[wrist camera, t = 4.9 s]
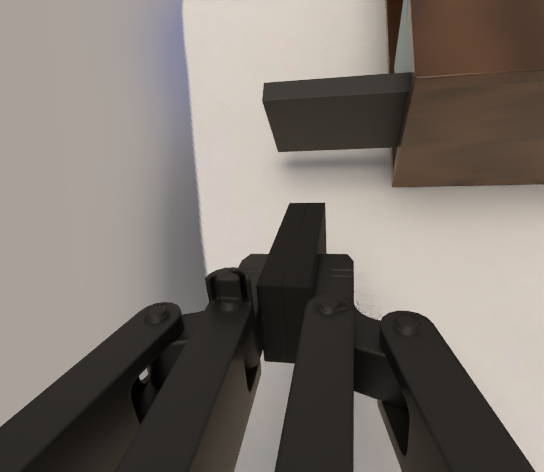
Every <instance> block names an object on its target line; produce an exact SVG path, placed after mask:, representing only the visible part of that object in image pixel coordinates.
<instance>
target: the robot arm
mask: <svg viewBox="0 0 544 472" xmlns="http://www.w3.org/2000/svg"><path fill="white" fill-rule="evenodd" d="M205 281H206V287H207V293H208V298H209V304H208V305H207V308H206V309H205V311H201V312H197V313H190V314H184V315H182V313H181V309H180V308H179V306H178V305H176V304H174V303H166V302H163V303H156V304H153V305H150V306H148V307H146V308H144V309H143V310H141V311H140V312H138V313H137V314H136V315H135V316H134V317H132V318H131V319H130V320H129V321H128V322H126V323H125V324H124V325H123V326H122V327H120V328H119V329H118V330H117V331H115V332H114V333H113V334H112V335H111V336H109V337H108V338H107V339H106V340H105V341H103V342H102V343H101V344H100V345H99V346H97V348H95V349H94V350H93V351H91V352H90V353H89V354H88V355H87V356H85V357H84V358H83V359H82V360H81V361H79V362H78V363H77V364H76V365H75V366H73V367H72V368H71V369H70V370H69V371H67V372H66V373H65V374H64V375H62V376H61V377H60V378H59V379H58V380H56V381H55V382H54V383H53V384H52V385H50V386H49V387H48V388H47V389H46V390H45V391H43V392H42V393H41V394H40V395H39V396H37V397H36V398H35V399H34V400H33V401H31V402H30V403H29V404H28V405H26V406H25V407H24V408H23V409H22V410H21V411H19V412H18V413H17V414H16V415H14V416H13V417H12V418H11V419H9V420H8V421H7V422H6V423H5V424H3V425H2V426H1V427H0V472H234V469H235V465H236V462H237V458H238V455H239V451H240V447H241V444H242V440H243V437H244V433H245V429H246V426H247V422H248V419H249V415H250V412H251V408H252V404H253V401H254V397H255V394H256V390H257V386H258V383H259V379H260V376H261V363H260V357H261V354H262V351H264V360H265V361H268V362H283V363H295V366H294V371H293V376H292V382H291V387H290V392H289V397H288V403H287V408H286V413H285V419H284V424H283V429H282V435H281V440H280V445H279V450H278V456H277V461H276V466H275V472H353V440H354V391H355V392H358V393H361V394H364V395H367V396H369V397H372V398H375V399H377V403H378V408H379V410H380V413H381V416H382V418H383V421H384V424H385V426H386V429H387V432H388V435H389V437H390V440H391V443H392V445H393V448H394V451H395V453H396V456H397V459H398V462H399V464H400V467H401V470H402V472H535V470H534V469H533V467H532V466H531V464H530V463H529V462H528V460H527V459H526V457H525V456H524V454H523V453H522V451H521V450H520V449H519V447H518V446H517V444H516V443H515V441H514V440H513V438H512V437H511V436H510V434H509V433H508V431H507V430H506V428H505V427H504V425H503V424H502V422H501V421H500V420H499V418H498V417H497V415H496V414H495V412H494V411H493V409H492V408H491V407H490V405H489V404H488V402H487V401H486V399H485V398H484V396H483V395H482V394H481V392H480V391H479V389H478V388H477V386H476V385H475V383H474V382H473V381H472V379H471V378H470V376H469V375H468V373H467V372H466V370H465V369H464V368H463V366H462V365H461V363H460V362H459V360H458V359H457V357H456V356H455V355H454V353H453V352H452V350H451V349H450V347H449V346H448V344H447V343H446V342H445V340H444V339H443V337H442V336H441V334H440V333H439V331H438V330H437V328H436V327H435V326H434V324H433V323H432V322H431V321H430V320H429V319H428V318H426V317H424V316H422V315H420V314H418V313H414V312H410V311H395V312H391V313H388V314H387V315H385V316H384V317H383V318H382V320H381V321H379V320H375V319H372V318H369V317H367V316H365V315H363V314H361V313H360V312H359V311H358V310H357V309H356V307H355V306H354V261H353V260H352V259H351V258H350V257H349V255H348V254H326V220H325V203H290V204H289V206H288V209H287V211H286V213H285V216H284V218H283V221H282V223H281V226H280V228H279V231H278V233H277V235H276V238H275V240H274V243H273V245H272V248H271V250H270V253H269V254H250V255H249V256H248V257H246V258H245V259H244V260H242V262H241V264H240V265H239V267H238V268H234V267H232V268H223V269H220V270H216V271H214V272H212V273H210V274H209V275H208V276H207V277H206V278H205ZM146 368H147V371H148V375H147V376H146V377H145V378H144V379H143V380H140V378H139V375H140V374H141V373H142V372H143V371H144V370H145V369H146Z"/></svg>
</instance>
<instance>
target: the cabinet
mask: <svg viewBox="0 0 544 472" xmlns="http://www.w3.org/2000/svg"><path fill="white" fill-rule="evenodd" d="M385 1H386V29H387V57H388V74H391V73H394V64H395V57H396V50H397V43H398V36H399V28H400V21H401V14H402V7H403V0H385ZM407 2H408V19H409V35H410V52H411V68H412V79H411V84H410V89H409V94H408V99H407V104H406V109H405V114H404V119H403V124H402V129H401V134H400V139H399V144H398V147H391V169H392V187H417V186H465V185H514V184H544V0H407Z"/></svg>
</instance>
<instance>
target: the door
mask: <svg viewBox="0 0 544 472" xmlns="http://www.w3.org/2000/svg"><path fill="white" fill-rule="evenodd" d="M411 79H412V68H411V52H410V35H409V19H408V2H407V0H403V7H402V14H401V21H400V28H399V36H398V43H397V50H396V57H395V64H394V73H391V74H378V75H365V76H351V77H338V78H324V79H311V80H298V81H284V82H271V83H264V89H263V99H262V101H263V105H264V108H265V111H266V114H267V117H268V121H269V124H270V127H271V130H272V133H273V137H274V140H275V143H276V146H277V149H278V152H289V151H314V150H340V149H365V148H391V147H398V144H399V139H400V134H401V129H402V124H403V119H404V114H405V109H406V104H407V99H408V94H409V89H410V84H411Z"/></svg>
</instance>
